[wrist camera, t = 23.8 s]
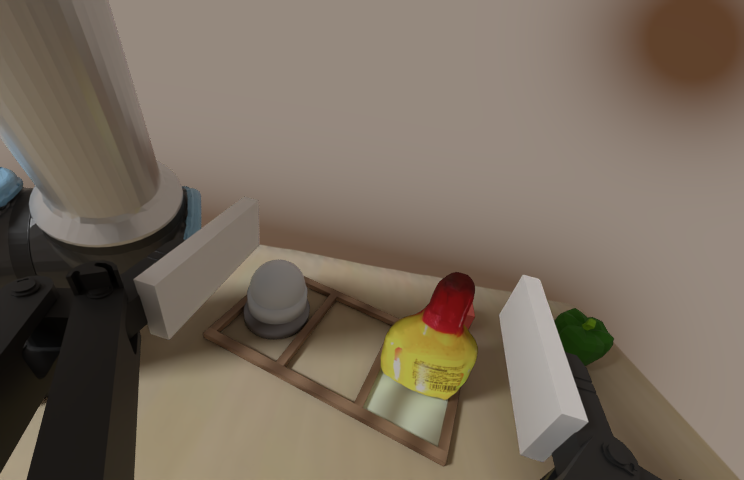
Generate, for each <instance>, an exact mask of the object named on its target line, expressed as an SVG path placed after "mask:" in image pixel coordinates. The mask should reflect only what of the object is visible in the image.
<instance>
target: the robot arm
mask: <svg viewBox="0 0 744 480" xmlns="http://www.w3.org/2000/svg"><path fill="white" fill-rule="evenodd" d="M0 138H1V140H2V141H3V142H4V144H5V145H6V146H7V148H8V149H9V150H10V152H11V153H12V154H13V156H14V157H15V158H16V160H17V161H18V162H19V164H20V165H21V167H22V168H23V169H24V171H25V172H26V173H27V175H28V176H29V177H30V179H31V180H32V181H33V183H34V184H35V185H36V186H35V187H34V188H24V187H23V181H22V179H20V178H19V177H17V175H16V174H15V173H14V172H13V171H11V170H9V169H6V168H2V167H0V473H1V471H2V470H3V468H4V466H5V464H6V463H7V461H8V459H9V457H10V456H11V454H12V452H13V451H14V449H15V447H16V445H17V444H18V442H19V440H20V438H21V437H22V435H23V433H24V431H25V430H26V428H27V426H28V425H29V423H30V421H31V419H32V418H33V416H34V414H35V412H36V411H37V409H38V407H39V406H40V404H41V402H42V400H43V399H44V398H46V397H48V399H47V403H46V407H45V411H44V415H43V419H42V422H41V426H40V430H39V434H38V438H37V442H36V446H35V449H34V453H33V457H32V461H31V465H30V469H29V472H28V476H27V480H134V468H135V448H136V427H137V407H138V386H139V365H140V345H141V335H140V332H139V331H140V330H141V329H142V328H143V327H144V326H145V325H146V324H148V327H149V331H150V334H152V335H155V336H158V337H162V338H165V339H168V340H170V338H171V337H172V336H173V335H174V334H175V333H176V332H177V331H178V330H179V329H180V328H181V327H182V326H183V325H184V324H185V323H186V322H187V321H188V320H189V318H190V317H191V316H192V315H193V314H194V313H195V312H196V311H197V310H198V309H199V308H200V307H201V306H202V305H203V304H204V303H205V302H206V301H207V300H208V299H209V297H210V296H211V295H212V294H213V293H214V292H215V291H216V290H217V289H218V288H219V287H220V286H221V285H222V284H223V283H224V282H225V281H226V280H227V279H228V277H229V276H230V275H231V274H232V273H233V272H234V271H235V270H236V269H237V268H238V267H239V266H240V265H241V264H242V263H243V262H244V261H245V260H246V259H247V258H248V256H249V255H250V254H251V253H252V252H253V251H254V250H255V249H256V248H257V247H258V246H259V200H256V199H252V198H248V197H245V196H244V197H243V198H241V199H240V200H239V201H238V202H237V203H235V204H234V205H232V206H231V207H229V208H228V209H227V210H226V211H224V212H223V213H221V214H220V215H219V216H217V217H216V218H215V219H213V220H212V221H211V222H209V223H208V224H207V225H205V226H204V227H203V228H201V194H200V192H199V191H198V190H196V189H193V188H189V187H187V186H186V187H185V186H181V183H180V181H179V179H178V177H177V176H176V174H175V173H174V172H173V171H172V170H171V169H169V168H168V167H167V166H166V165H164V164H162V163H161V162H159V161H157V160H156V158H155V155H154V151H153V148H152V144H151V141H150V138H149V134H148V131H147V128H146V125H145V121H144V118H143V115H142V111H141V108H140V104H139V101H138V98H137V95H136V91H135V88H134V84H133V81H132V78H131V74H130V71H129V68H128V64H127V61H126V58H125V54H124V51H123V48H122V44H121V41H120V37H119V34H118V31H117V27H116V24H115V21H114V18H113V14H112V11H111V8H110V4H109V1H108V0H0ZM499 318H500V324H501V331H502V338H503V344H504V351H505V357H506V364H507V370H508V377H509V384H510V390H511V397H512V403H513V410H514V417H515V423H516V430H517V436H518V443H519V449H520V455H522V456H525V457H528V458H531V459H534V460H537V461H540V462H544V461H545V460H546V459H547V458H548V457H550V456H551V455H552V457H553V461H554V465H555V468H553V469H552V470H551V471H550V472H549V473H547V474H546V475H545V476H544V477H543V478H541V479H540V480H661V479H660V478H658V477H656V476H655V475H653V474H652V473H650V472H648V471H647V470H645V469H643V468H642V467H640V466H639V465H638V462H637V460H636V459H635V457H634V455H633V454H632V452H631V451H630V450H629V449H628V448H627V447H626V446H625V445H624V444H623V443H622V442H621V441H619V440H618V439H617V438H615V437H614V436H613V434H612V432H611V429H610V427H609V424H608V421H607V419H606V416H605V414H604V411H603V409H602V406H601V404H600V401H599V398H598V396H597V395H596V391H595V388H594V386H593V384H592V381H591V378H590V376H589V373H588V370H587V368H586V367H585V366H584V364H583V363H582V362H581V360H580V359H579V358H578V356H577V355H574V354H570V353H567V352H564V349H563V346H562V343H561V340H560V337H559V334H558V331H557V328H556V325H555V322H554V319H553V317H552V314H551V311H550V308H549V305H548V302H547V299H546V296H545V293H544V290H543V287H542V284H541V281H540V279H537V278H533V277H529V276H526V275H523V276H522V277H521V279H520V281H519V283H518V284H517V286H516V288H515V289H514V291H513V293H512V294H511V296H510V298H509V299H508V301H507V303H506V304H505V306H504V308H503V309H502V311H501V313H500V314H499ZM679 480H680V479H679Z"/></svg>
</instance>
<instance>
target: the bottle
mask: <svg viewBox="0 0 744 480" xmlns="http://www.w3.org/2000/svg"><path fill="white" fill-rule="evenodd" d="M474 294H475V285H474V282H473V281H472V279H471V278H470V277H469V276H468V275H466V274H463V273H459V272H455V273H451V274H449V275H448V276H446V277H445V278H443V279H442V280H441V281H440V282H439V283H438V285H437V287H436V288H435V291H434V293H433V295H432V298H431V300H430V303H429V304H428V305H427V306H426V307H425V308H424V309H423V310H422V311H420V312H419V313H417V314H414V315H410V316H407V317H404V318H402V319H400V320H398V321H396V322H395V323H394V324H393V325H392V326H391V328H390V329H389V331H388V333H387V335H386V337H385V340H384V345H383V349H382V354H381V368H382V371H383V372H384V374H385V375H387V376H389V377H390V378H391V379H393V380H394V381H396V382H398V383H400V384H402V385H403V386H405V387H407V388H409V389H411V390H413V391H416V392H418V393H421V394H424V395H426V396H431V397H438V398H441V399H443V400H446V399H448V398H449V397H451V396H452V395H453V394H455V393H456V392H457V391H458V389H459V388H460V387H461V386H462V385H463V384H464V383H465V382H466V380H467V378H468V376H469V374H470V372H471V370H472V368H473V366H474V364H475V361H476V358H477V354H478V347H477V344H476V341H475V339H474V338H473V336H472V335H471V334H470V333H469V331H468V329H467V327H466V326H465V325H464V321H465V319H466V316H467V313H468V312H469V309H470V307H471V305H472V302H473V299H474Z"/></svg>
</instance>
